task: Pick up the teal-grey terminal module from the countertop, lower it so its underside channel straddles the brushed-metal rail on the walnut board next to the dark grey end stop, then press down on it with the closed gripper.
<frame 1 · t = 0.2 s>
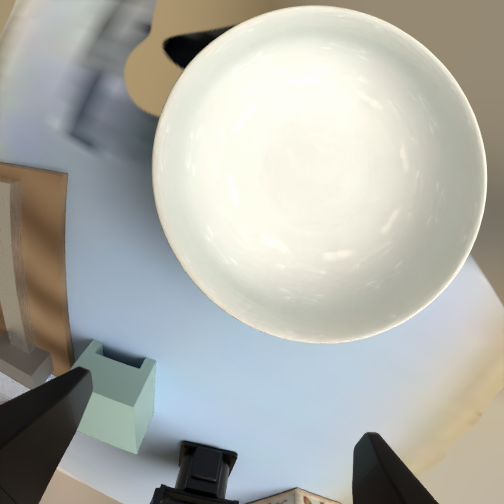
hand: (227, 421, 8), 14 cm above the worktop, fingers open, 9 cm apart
terminal module: (124, 378, 27), on the worktop
metal rail: (11, 285, 23), on the mounting board, point 1 cm above the worktop
mounting board: (22, 277, 24), on the worktop
cereal bowl: (317, 167, 20), on the worktop
end stop: (33, 345, 28), resting on mounting board
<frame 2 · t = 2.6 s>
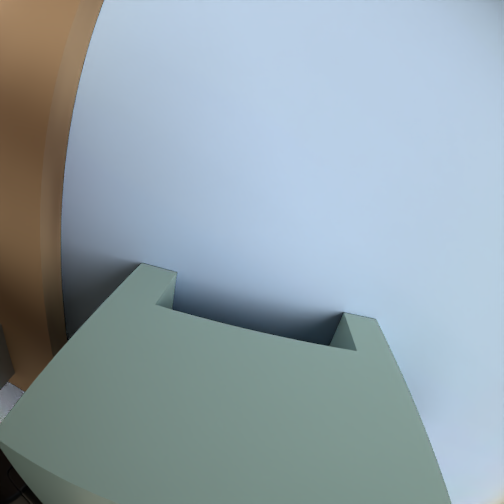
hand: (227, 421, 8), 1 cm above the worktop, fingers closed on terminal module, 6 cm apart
terminal module: (231, 397, 9), on the worktop, touching gripper
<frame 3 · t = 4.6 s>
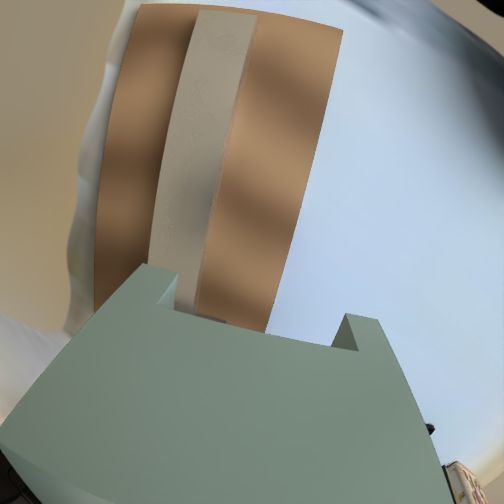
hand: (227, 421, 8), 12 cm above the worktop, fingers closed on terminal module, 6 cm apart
terminal module: (232, 398, 9), point 11 cm above the worktop, touching gripper
metal rail: (188, 192, 16), on the mounting board, point 1 cm above the worktop
mounting board: (196, 187, 18), on the worktop
decorative jar: (434, 487, 28), on the worktop
when the fingers open (3 cm above the worktop, at t = 6.9 s): terminal module drops 1 cm, resting on mounting board.
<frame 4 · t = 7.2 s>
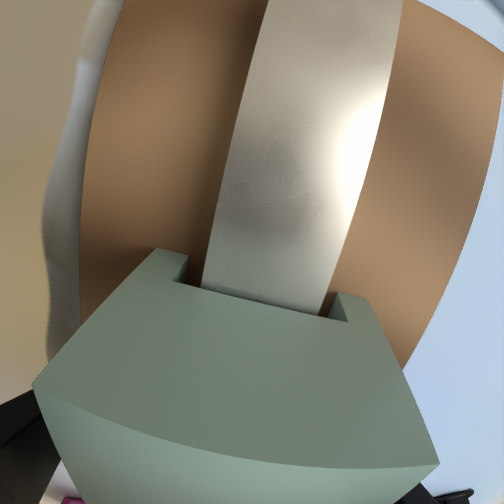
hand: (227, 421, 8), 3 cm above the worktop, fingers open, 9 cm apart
terminal module: (235, 374, 10), point 1 cm above the worktop, touching mounting board
metal rail: (248, 331, 9), on the mounting board, point 1 cm above the worktop
mounting board: (252, 302, 11), on the worktop
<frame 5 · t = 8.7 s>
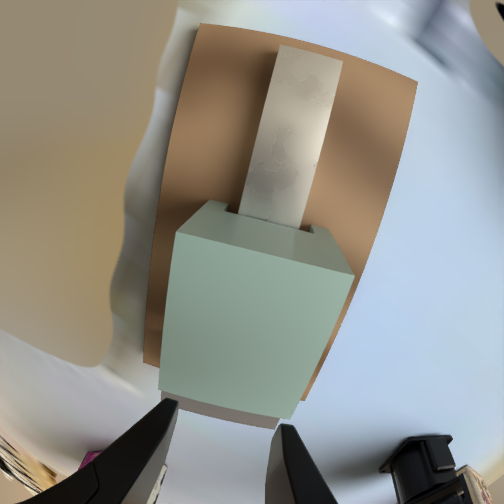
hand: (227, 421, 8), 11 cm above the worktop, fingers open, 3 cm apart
terminal module: (252, 281, 18), point 1 cm above the worktop, touching mounting board
metal rail: (261, 245, 16), on the mounting board, point 1 cm above the worktop
mounting board: (262, 235, 18), on the worktop
candy bar box: (123, 457, 28), on the worktop
end stop: (231, 353, 21), resting on mounting board
decorative jar: (444, 488, 29), on the worktop
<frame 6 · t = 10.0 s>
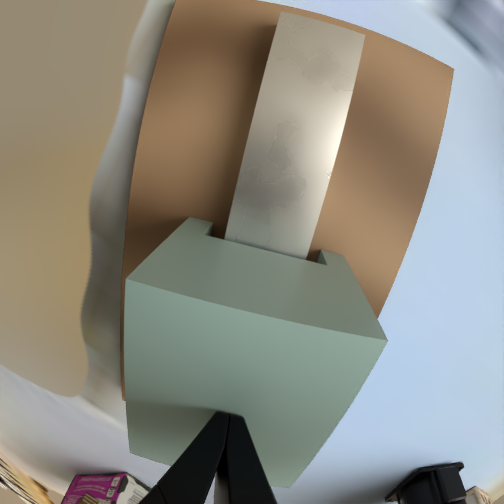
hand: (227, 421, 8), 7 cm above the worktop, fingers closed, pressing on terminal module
terminal module: (245, 318, 14), point 1 cm above the worktop, touching gripper, mounting board
metal rail: (256, 277, 12), on the mounting board, point 1 cm above the worktop
mounting board: (258, 261, 14), on the worktop
candy bar box: (112, 482, 25), on the worktop
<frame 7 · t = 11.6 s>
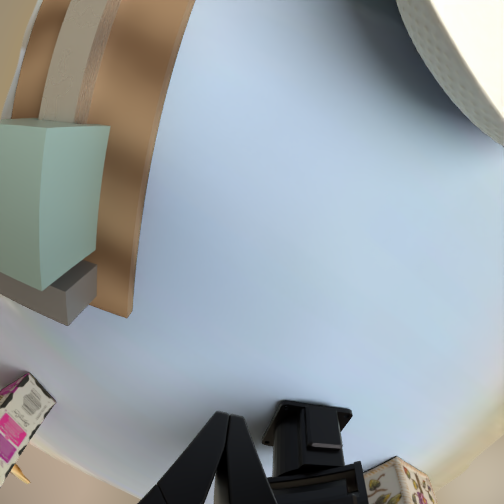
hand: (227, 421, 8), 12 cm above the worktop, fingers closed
terminal module: (61, 181, 17), point 1 cm above the worktop, touching mounting board
metal rail: (58, 145, 16), on the mounting board, point 1 cm above the worktop
mounting board: (73, 143, 17), on the worktop
candy bar box: (26, 392, 28), on the worktop
cereal bowl: (476, 37, 13), on the worktop
end stop: (65, 261, 20), resting on mounting board
decorative jar: (377, 483, 30), on the worktop
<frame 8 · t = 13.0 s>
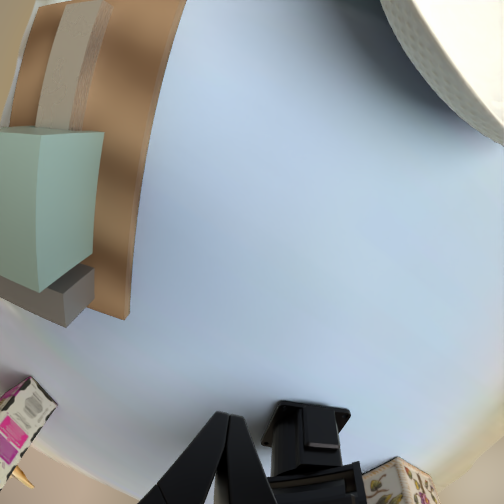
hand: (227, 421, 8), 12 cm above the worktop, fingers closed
terminal module: (58, 187, 18), point 1 cm above the worktop, touching mounting board
metal rail: (54, 151, 16), on the mounting board, point 1 cm above the worktop
mounting board: (69, 149, 18), on the worktop
candy bar box: (29, 396, 28), on the worktop
cereal bowl: (464, 32, 13), on the worktop
end stop: (64, 265, 21), resting on mounting board
decorative jar: (379, 484, 29), on the worktop
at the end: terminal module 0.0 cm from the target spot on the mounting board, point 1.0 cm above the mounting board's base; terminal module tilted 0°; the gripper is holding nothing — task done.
